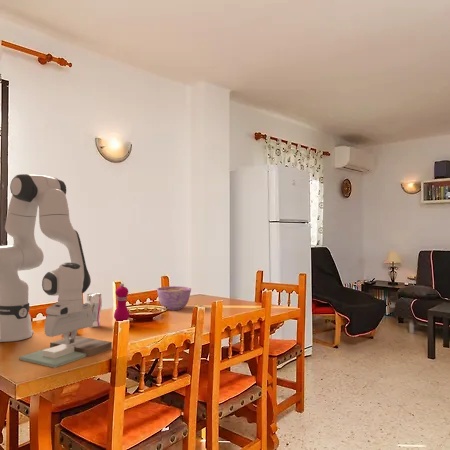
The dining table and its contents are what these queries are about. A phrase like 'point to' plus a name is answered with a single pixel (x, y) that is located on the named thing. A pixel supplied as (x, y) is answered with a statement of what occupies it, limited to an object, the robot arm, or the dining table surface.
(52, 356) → the white rectangular block
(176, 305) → the bowl of food
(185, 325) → the dining table surface
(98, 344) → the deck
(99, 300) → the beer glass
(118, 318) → the pepper mill
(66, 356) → the mat
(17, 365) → the dining table surface
